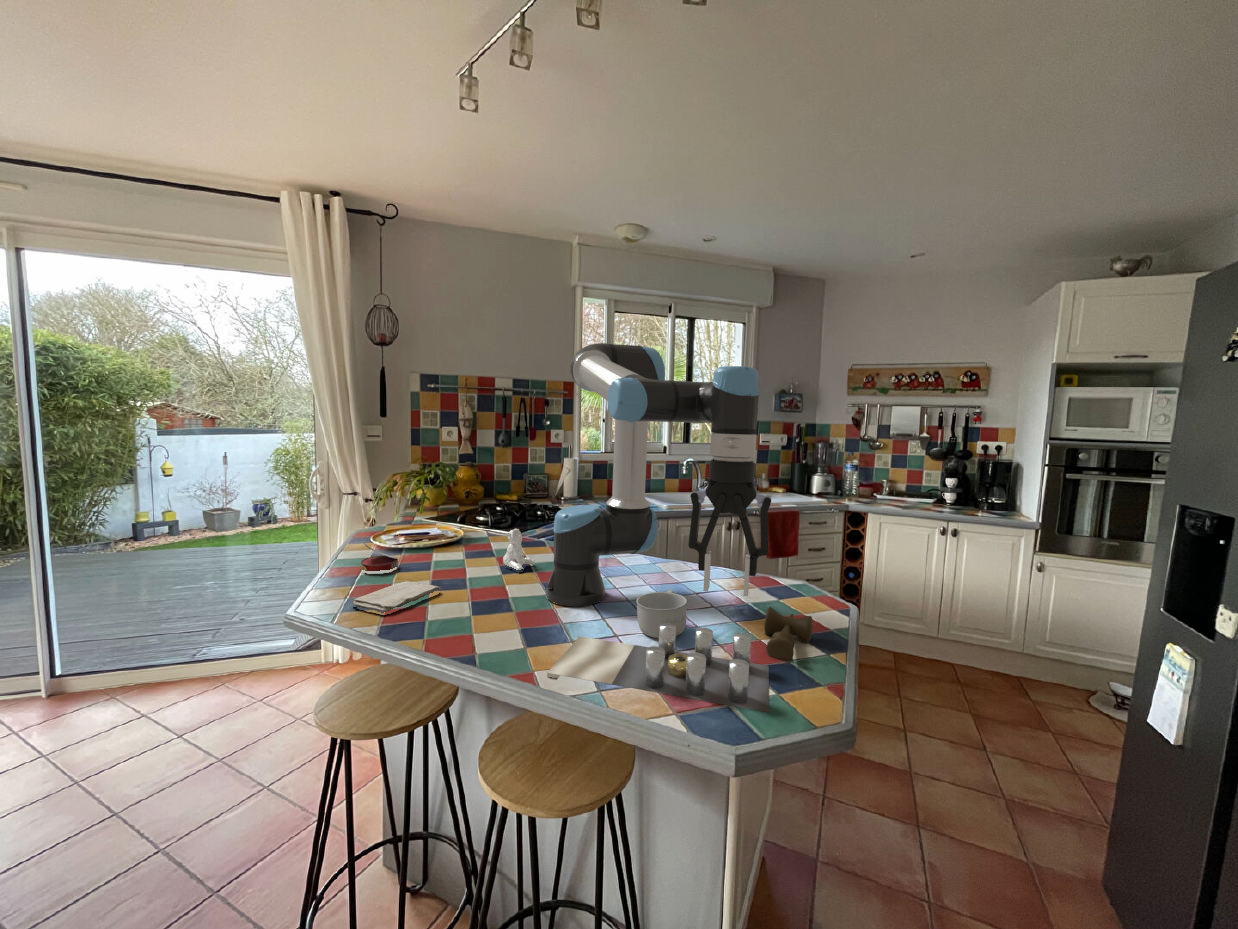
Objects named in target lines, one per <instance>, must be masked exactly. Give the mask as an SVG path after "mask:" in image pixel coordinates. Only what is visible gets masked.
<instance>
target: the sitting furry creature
mask: <svg viewBox="0 0 1238 929" xmlns="http://www.w3.org/2000/svg"><path fill="white" fill-rule="evenodd" d="M505 537H507V539H508V541H509V543H510V544H508V546H507V549H506V553H505V554H504V556H503V558H502V560H503V562H502V563H503V565H504V564H505V565H507V566H509V567H512V568H514V569H516V570H521V569H523V570H524V568H523V567H522V565H523V564H534V565H535V563H536V562H535V559H532V558H531V557H524V550H523V546H522V540H523V536H522V533H521V531H520V529H519V528H514V529H510V531H508V532H506V533H505ZM534 562H535V563H534Z"/></svg>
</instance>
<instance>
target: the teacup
mask: <svg viewBox="0 0 1238 929" xmlns="http://www.w3.org/2000/svg"><path fill="white" fill-rule="evenodd" d="M635 601H636V609H637V610H636V612H637V623H638V627H639V630H640V631H641V632H642V633H643V634H645V636H648V637H650V638H652V639H653V638H654V639H658V640H659V625H660V624H661V623H672V624H675V625H676V637H678V636H679V635H680V634H682V633H683V632H684V631H685V629H686V626H687V614H688V613H687V604H688V600H687V598H686V597H685V596H684V595H681V594H678V593H676V592H675V591H674V590H670V589H669V590H667V591H666V592H665V591H656V592H655V591H654V592H650V593H649V592H648V593H645V594H642V595H640V596H639V597H637V598H636V600H635Z"/></svg>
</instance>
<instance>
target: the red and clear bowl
mask: <svg viewBox="0 0 1238 929" xmlns="http://www.w3.org/2000/svg"><path fill="white" fill-rule="evenodd" d="M362 544H363V545H364V546H365V547H366V548H367V549H370V550H372V551H373V552H376V553H378V554H380V555H377V556H371V557H366V558H364V559H362V560H361V561H360V565H361V566H360V568H361V570H365V571H380V570H390V569H393V568H395V567H397V566H398V567H399V561H398V560H399V559H398V557H397V556H394V555H390V554H386V553H383V552H379V551H377V550H375V549H374V548H371V546H369V545H368V544H366V543H365V542H363V543H362ZM361 570H360V571H361Z"/></svg>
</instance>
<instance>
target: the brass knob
mask: <svg viewBox="0 0 1238 929" xmlns="http://www.w3.org/2000/svg"><path fill="white" fill-rule="evenodd" d="M686 666H687V655H684V654H672V655H670V656H669V658H668V673H669V674H670V675H671V676H673V677H677V678H686Z"/></svg>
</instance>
